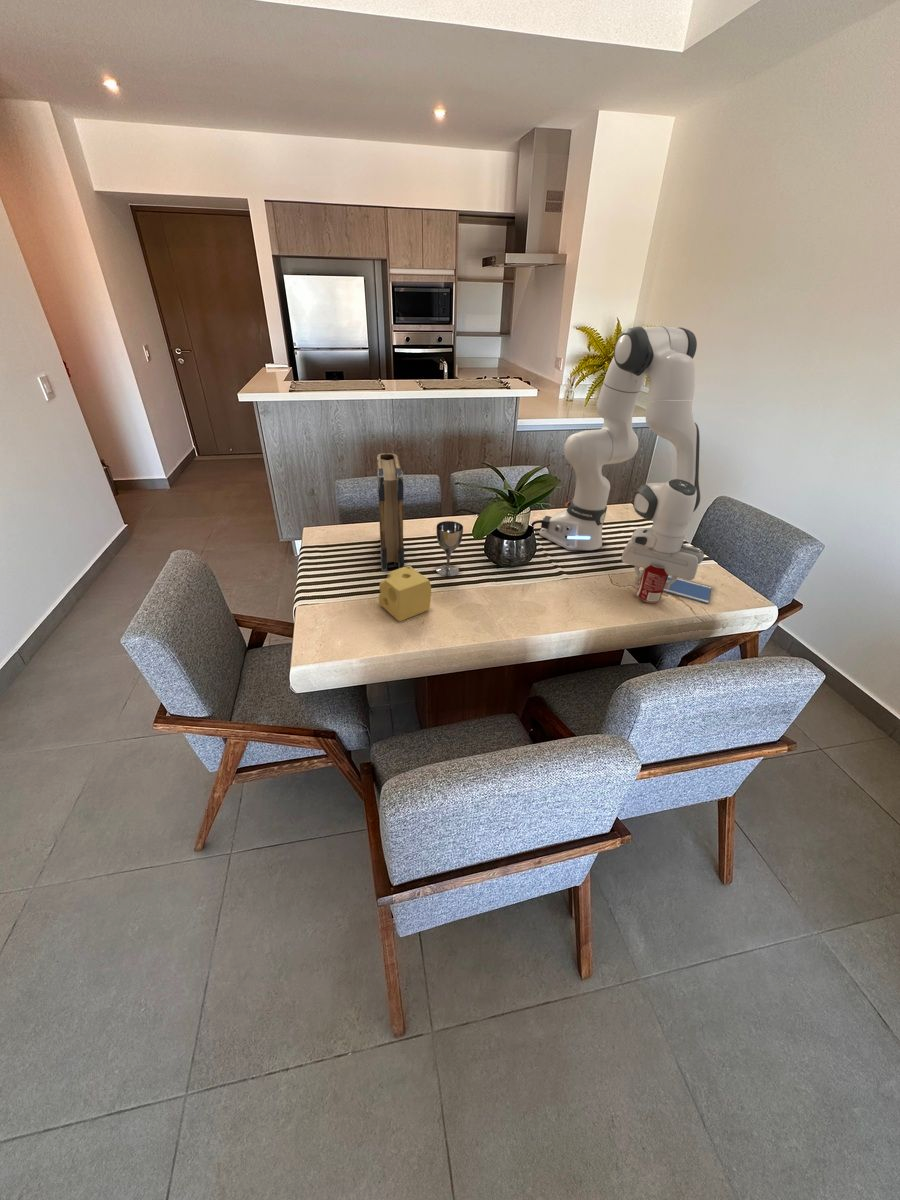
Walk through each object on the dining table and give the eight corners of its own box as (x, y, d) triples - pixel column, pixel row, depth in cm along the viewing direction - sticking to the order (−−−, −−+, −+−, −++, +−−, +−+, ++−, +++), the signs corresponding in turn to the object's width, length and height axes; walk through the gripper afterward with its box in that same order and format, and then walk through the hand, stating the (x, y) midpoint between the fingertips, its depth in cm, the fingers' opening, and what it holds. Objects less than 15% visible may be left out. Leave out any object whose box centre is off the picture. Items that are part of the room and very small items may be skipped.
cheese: (378, 605, 138) (377, 574, 132) (411, 593, 143) (411, 563, 138) (398, 623, 131) (398, 591, 125) (432, 610, 136) (432, 579, 131)
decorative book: (404, 569, 155) (403, 476, 138) (381, 570, 154) (377, 476, 137) (399, 536, 174) (398, 451, 158) (378, 537, 173) (375, 451, 157)
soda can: (661, 606, 143) (673, 570, 137) (637, 602, 144) (648, 566, 138) (658, 594, 149) (669, 558, 142) (634, 590, 150) (645, 555, 143)
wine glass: (455, 562, 160) (457, 519, 152) (464, 574, 154) (467, 530, 145) (431, 566, 157) (432, 522, 149) (439, 578, 151) (441, 533, 143)
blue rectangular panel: (638, 584, 153) (638, 583, 153) (645, 569, 161) (645, 568, 161) (707, 604, 145) (707, 603, 145) (711, 587, 154) (711, 586, 153)
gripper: (707, 545, 135) (691, 588, 142) (631, 527, 143) (620, 569, 150) (704, 554, 130) (688, 598, 137) (626, 535, 138) (615, 578, 146)
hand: (652, 583), depth 144 cm, fingers closed on soda can, 7 cm apart
